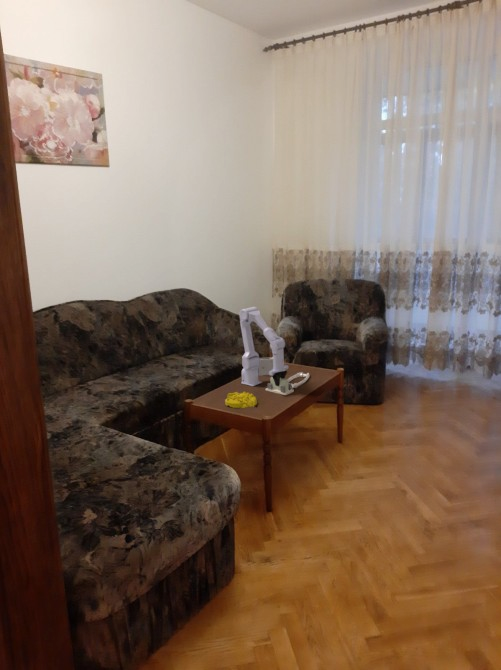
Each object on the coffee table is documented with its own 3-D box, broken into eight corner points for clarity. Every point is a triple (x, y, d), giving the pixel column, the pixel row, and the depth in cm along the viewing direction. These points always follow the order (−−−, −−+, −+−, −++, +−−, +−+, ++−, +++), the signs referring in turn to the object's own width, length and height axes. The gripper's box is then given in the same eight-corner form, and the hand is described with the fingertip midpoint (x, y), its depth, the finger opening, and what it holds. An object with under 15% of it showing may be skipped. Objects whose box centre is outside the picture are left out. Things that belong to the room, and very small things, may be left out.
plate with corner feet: (265, 390, 273) (265, 383, 272) (273, 386, 278) (273, 380, 277) (285, 395, 264) (285, 388, 263) (293, 391, 269) (293, 384, 268)
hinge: (278, 371, 306) (277, 355, 304) (280, 374, 301) (280, 358, 299) (256, 374, 303) (255, 358, 300) (258, 376, 298) (258, 360, 295)
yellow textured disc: (223, 409, 250) (223, 401, 249) (227, 397, 266) (226, 390, 265) (256, 408, 249) (256, 400, 248) (258, 397, 265) (257, 389, 264)
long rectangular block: (270, 388, 273) (270, 377, 272) (274, 386, 275) (273, 376, 274) (285, 391, 266) (284, 380, 265) (288, 390, 269) (288, 379, 267)
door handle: (313, 376, 294) (296, 390, 272) (297, 375, 298) (280, 388, 277) (313, 372, 293) (296, 385, 272) (297, 370, 298) (280, 383, 276)
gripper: (275, 365, 259) (276, 389, 262) (292, 358, 270) (293, 382, 273) (265, 363, 264) (266, 387, 267) (282, 356, 275) (283, 380, 278)
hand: (279, 384), depth 270 cm, fingers closed on long rectangular block, 3 cm apart
